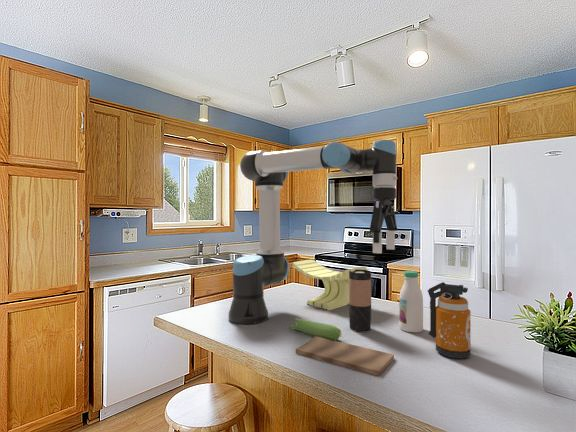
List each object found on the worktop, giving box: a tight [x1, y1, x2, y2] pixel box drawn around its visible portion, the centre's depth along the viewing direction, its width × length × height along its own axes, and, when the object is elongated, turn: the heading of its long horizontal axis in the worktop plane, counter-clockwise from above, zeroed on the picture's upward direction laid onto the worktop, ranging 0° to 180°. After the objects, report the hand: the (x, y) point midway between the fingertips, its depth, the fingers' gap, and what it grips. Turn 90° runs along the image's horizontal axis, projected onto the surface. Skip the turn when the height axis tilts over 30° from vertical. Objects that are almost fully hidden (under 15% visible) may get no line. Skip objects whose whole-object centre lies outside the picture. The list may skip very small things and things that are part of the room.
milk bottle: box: [398, 270, 424, 333], centre depth 116 cm, size 8×8×20 cm
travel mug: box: [348, 269, 372, 333], centre depth 117 cm, size 8×8×20 cm
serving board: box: [295, 336, 395, 377], centre depth 94 cm, size 24×12×1 cm, turn 56°
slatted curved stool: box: [292, 259, 368, 311], centre depth 149 cm, size 30×16×18 cm, turn 44°
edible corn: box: [289, 317, 343, 341], centre depth 111 cm, size 5×20×5 cm
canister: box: [427, 281, 472, 359], centre depth 96 cm, size 9×11×20 cm
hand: (384, 251), depth 112 cm, fingers open, 13 cm apart
